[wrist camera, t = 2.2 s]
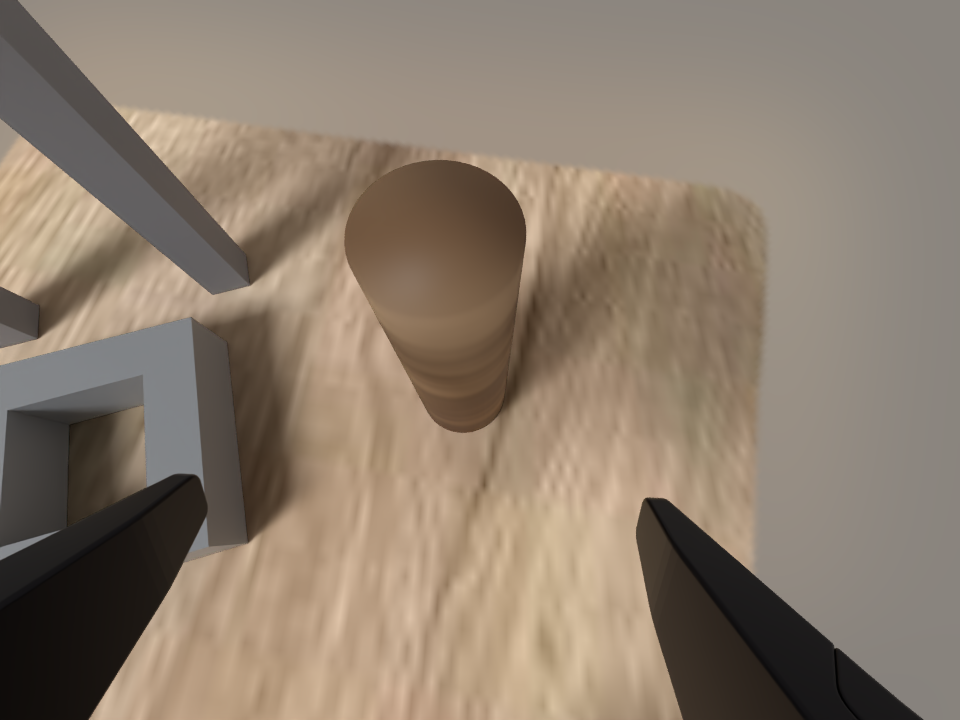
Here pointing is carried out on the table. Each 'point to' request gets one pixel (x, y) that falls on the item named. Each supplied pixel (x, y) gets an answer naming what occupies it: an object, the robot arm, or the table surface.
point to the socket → (111, 388)
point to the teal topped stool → (100, 164)
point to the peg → (443, 281)
